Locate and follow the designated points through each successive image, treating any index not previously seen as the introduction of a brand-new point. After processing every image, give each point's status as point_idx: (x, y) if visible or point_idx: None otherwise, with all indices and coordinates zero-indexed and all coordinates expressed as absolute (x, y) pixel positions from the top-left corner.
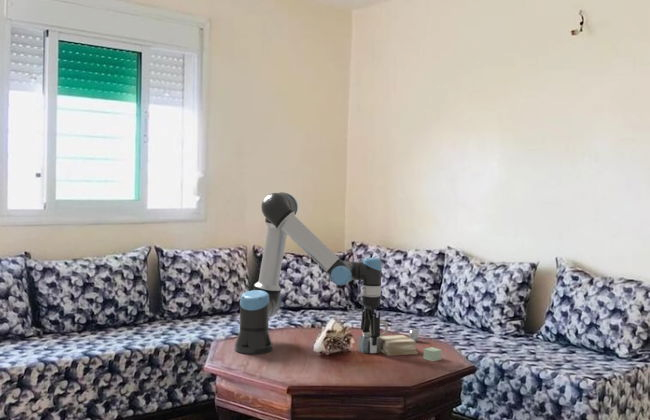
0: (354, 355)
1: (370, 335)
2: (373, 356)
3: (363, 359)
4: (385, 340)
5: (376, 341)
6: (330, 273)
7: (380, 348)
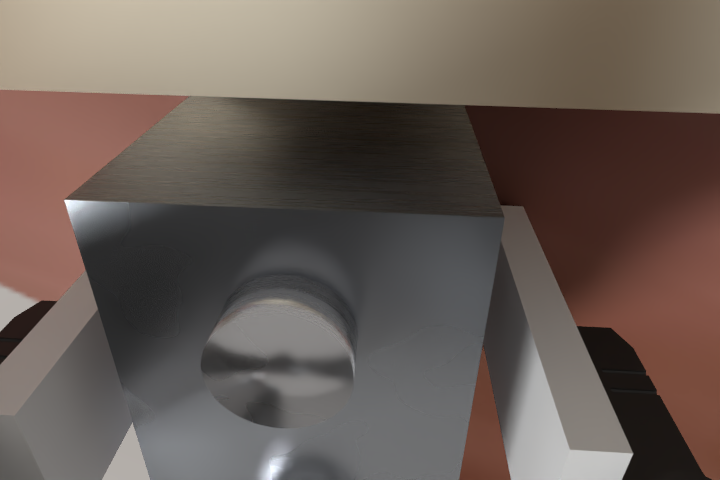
0: (488, 474)
1: (119, 369)
2: (651, 313)
3: (701, 462)
4: (621, 72)
5: (661, 407)
6: None
7: (459, 110)
